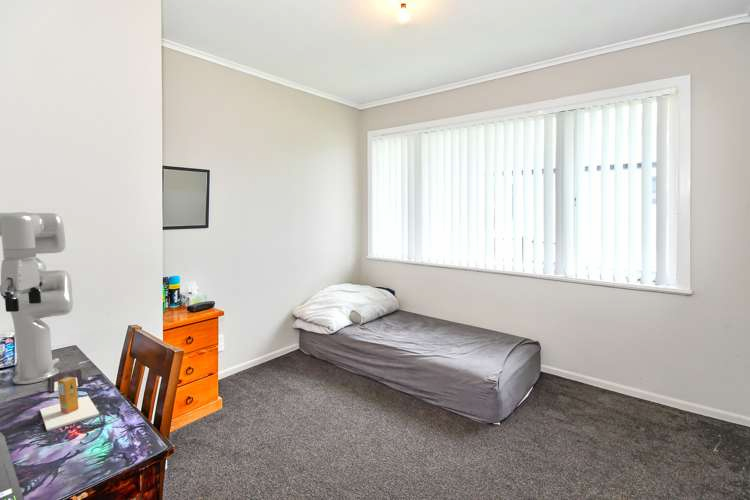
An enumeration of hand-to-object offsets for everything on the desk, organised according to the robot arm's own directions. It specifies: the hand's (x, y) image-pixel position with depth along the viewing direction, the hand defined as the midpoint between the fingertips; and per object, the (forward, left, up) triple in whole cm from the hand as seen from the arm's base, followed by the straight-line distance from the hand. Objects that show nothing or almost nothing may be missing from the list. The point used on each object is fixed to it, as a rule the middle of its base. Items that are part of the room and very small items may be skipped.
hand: (24, 307), depth 121 cm
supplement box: (+11, +18, -30) cm, 37 cm away
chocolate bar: (-14, +2, -31) cm, 34 cm away
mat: (+11, +18, -31) cm, 37 cm away
